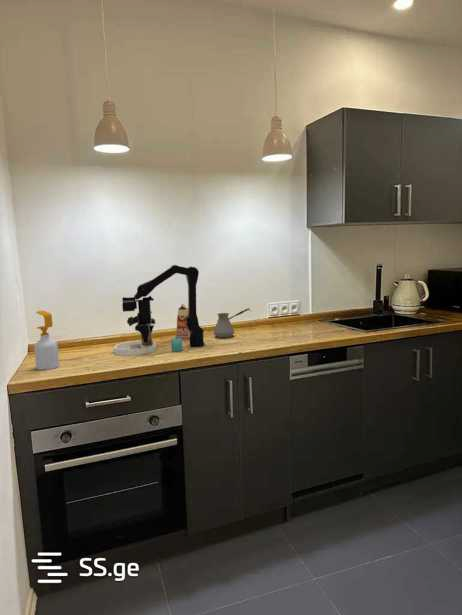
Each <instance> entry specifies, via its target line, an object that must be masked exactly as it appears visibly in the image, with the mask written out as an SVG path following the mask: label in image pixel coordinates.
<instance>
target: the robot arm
mask: <svg viewBox="0 0 462 615" xmlns="http://www.w3.org/2000/svg"><path fill="white" fill-rule="evenodd" d="M175 274H179V275H183V276H185V279H186V282H187V297H188V298H187V302H188V303H187V306H188V307H187V308H188V316H185V325H186V327H187V328H188V329H189V330H190V331H191V332H192V333H191V334H190V337H189V339H190V341H189V346H190V347H192V348H196V347H204V345H205V342H204V339H205V338H204V329H203V328H202V327H201V326H200V325H199V324H200V323H199V322H200V321H199V318H198V315H197V282H198V280H199V275H200V273H199V269H198V268H197V267H195V266H188V267H185V266H180V265H177V264H172V265H171V266H170V267H169V268H167V269H166V270H165V271H163V272H162V273H160V274H158V275H157V276H156V277H154V278H153V279H150V280H148V281H145V282H143V283H141V284H139V285H138V286H137V288H136V293H135V294H134V295H133V296H132V297H131V296H129V297H124V296H123V297H122V304H121V306H122V312H135V311H136V309H138V312H137V315H136V316H130V317H127V320H126V324H128V326H129V327H132V326H133V325H135V324H136V325H135V326H134V331H136V332H139V333H140V335H141V334H142V337H143V340H144V343H147V340H148V337H149V333H150V332H151V334H152V333H153V330H154V327H155V325H156V319H155V318H152V310H151V302H153V301H155V299H154V298H153V297H152V296H151V295H149V294H151V293H152V292H153V290H155V289H156V287H157V286H159V285H161V284H162V283H164V282H165V281H166V280H168V279H169V278H171V277H173V276H174V275H175ZM148 295H149V296H148ZM141 298H142V299H141Z"/></svg>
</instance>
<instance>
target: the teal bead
mask: <svg viewBox="0 0 462 615" xmlns="http://www.w3.org/2000/svg"><path fill="white" fill-rule="evenodd" d="M170 343H171V352H172V353H180V352H182V351H183V341H182V338H175V337H172V338H170Z"/></svg>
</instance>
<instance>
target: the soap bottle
mask: <svg viewBox="0 0 462 615" xmlns="http://www.w3.org/2000/svg"><path fill="white" fill-rule="evenodd" d="M36 314H38V315H41V316H43V319H44V325H42V326H41V325H40V326H37V327H36V329H37V330H38V329H40V331H41V333H39V334H40V339H39V340H38V341H36V343H35V344H34V345H33V346H34V347H33V348H34V349H33V350H34V357H35V358H34V359H35V367H36V370H39V371H49V370H53V369H56V368H58V367H59V366H60V358H59V357H60V356H59V349H58V348H59V347H58V346H59V344H58V342H57V341H56V340H54V339H52V338H50V333H49V332H47V331H48V329H49V328H52V327H53V316H52V313H51V312H48V311H46V310H38V311H36Z"/></svg>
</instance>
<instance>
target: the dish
mask: <svg viewBox="0 0 462 615" xmlns="http://www.w3.org/2000/svg"><path fill="white" fill-rule="evenodd" d="M157 349H158V345H157V342H155V341H154V340H152V345H149V346H142V341H141V340H131V341H125V342H121V343H117V344H115V345H114V346H113V353H114V354H115V355H117V356H124V357H131V356H132V357H133V356H134V357H135V356H141V355H148V354H150V353H154V352H156V351H157Z"/></svg>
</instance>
